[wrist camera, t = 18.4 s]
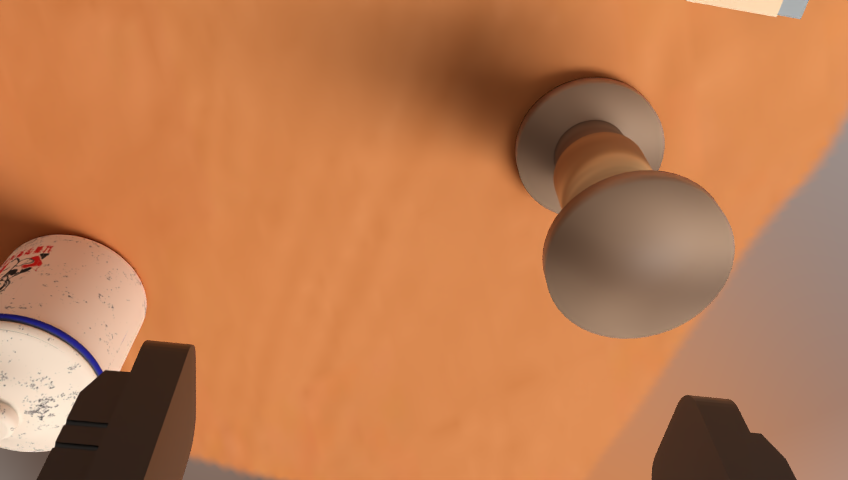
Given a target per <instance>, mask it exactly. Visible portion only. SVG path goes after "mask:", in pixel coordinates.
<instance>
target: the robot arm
mask: <svg viewBox="0 0 848 480" xmlns="http://www.w3.org/2000/svg"><path fill="white" fill-rule="evenodd" d="M195 420H196V355H195V347H194V345H190V344H180V343H170V342H159V341H149V340H146V341H145V342H144V343H143V345H142V347H141V349H140V351H139V354H138V356H137V358H136V361H135V363H134V365H133V368H132V370H131V372H122V371H111V370H105V371H104V372H102V373H101V374H100V375H99V376H98V377H97V378H96V379H94V380H93V381H92V382H91V383H90V384H89V385H87V386H86V387H85V388H84V389H83V390H82V391H81V392H80V393H79V395H78V397H77V399H76V401H75V403H74V405H73V407H72V409H71V411H70V413H69V415H68V417H67V419H66V424H65V425H63V427H62V429H61V431H60V433H59V435H58V437H57V439H56V441H55V447H54V448H52V450H51V452H50V454H49V456H48V458H47V460H46V462H45V464H44V466H43V468H42V470H41V472H40V474H39V476H38V478H37V480H182V478H183V475H184V472H185V468H186V465H187V462H188V458H189V455H190V451H191V447H192V442H193V436H194V429H195ZM652 480H796V478H795V476H794V474H793V472H792V470H791V468H790V466H789V464H788V462H787V461H786V459H785V458H784V457H783V456H782V455H781V454H780V453H779V452H778V451H777V450H776V448H775V447H773V445H772V444H770V443H769V442H768V440H767V439H766V438H765V437H764V436H763V435H762V434H758V433H750V431H749V429H748V427H747V425H746V423H745V421H744V419H743V417H742V415H741V413H740V411H739V409H738V407H737V406H736V404H735V403H734V402H733V401H732V400H729V399H721V398H711V397H710V398H709V397H700V396H690V395H686V396H684V397H682V398H681V400H680V401H679V403H678V405H677V407H676V409H675V412H674V414H673V416H672V419H671V421H670V423H669V425H668V428H667V430H666V432H665V435H664V437H663V439H662V441H661V444H660V446H659V448H658V451H657V453H656V455H655V458H654V462H653V467H652Z"/></svg>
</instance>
